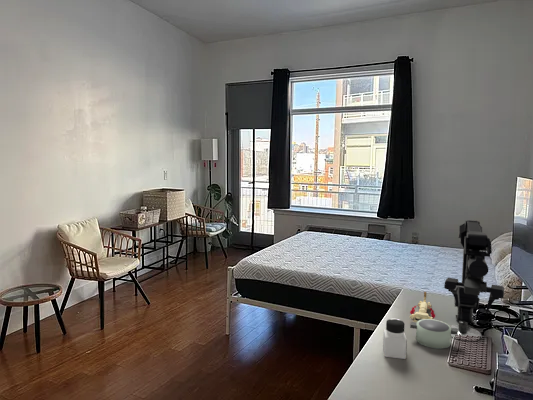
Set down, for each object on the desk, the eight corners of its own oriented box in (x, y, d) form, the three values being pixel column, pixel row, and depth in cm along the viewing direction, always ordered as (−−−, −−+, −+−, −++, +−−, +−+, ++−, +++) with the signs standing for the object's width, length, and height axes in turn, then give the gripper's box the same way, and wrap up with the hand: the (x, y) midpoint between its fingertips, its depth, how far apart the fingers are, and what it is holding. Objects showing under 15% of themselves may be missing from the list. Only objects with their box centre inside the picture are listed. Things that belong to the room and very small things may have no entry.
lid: (443, 325, 163) (444, 313, 163) (478, 330, 159) (479, 318, 158) (445, 338, 151) (445, 326, 151) (483, 344, 146) (484, 331, 146)
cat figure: (413, 308, 184) (407, 324, 162) (414, 289, 184) (408, 303, 161) (436, 311, 180) (433, 329, 157) (437, 292, 180) (435, 307, 157)
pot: (410, 330, 157) (410, 316, 156) (455, 337, 151) (456, 322, 150) (409, 344, 146) (410, 328, 145) (458, 352, 140) (459, 335, 139)
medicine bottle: (406, 359, 135) (407, 325, 134) (384, 357, 137) (385, 324, 135) (403, 349, 142) (404, 317, 141) (382, 347, 144) (383, 315, 142)
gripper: (442, 270, 139) (440, 312, 141) (504, 279, 129) (501, 324, 131) (447, 262, 148) (445, 302, 151) (505, 270, 138) (502, 312, 140)
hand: (472, 310), depth 143 cm, fingers open, 9 cm apart
